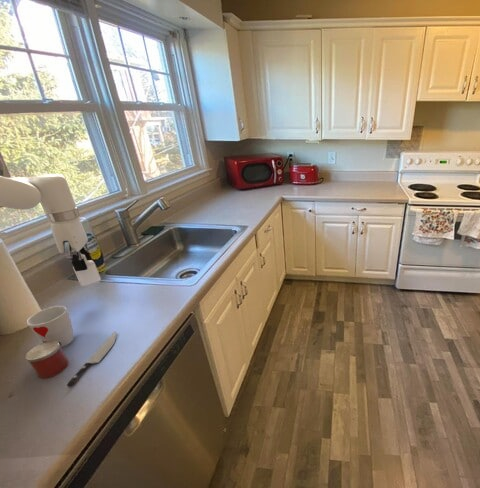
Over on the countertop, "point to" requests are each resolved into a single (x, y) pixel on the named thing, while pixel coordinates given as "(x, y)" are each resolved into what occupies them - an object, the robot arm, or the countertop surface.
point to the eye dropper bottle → (88, 273)
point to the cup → (52, 325)
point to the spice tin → (47, 359)
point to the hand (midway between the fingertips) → (84, 266)
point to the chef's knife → (95, 357)
